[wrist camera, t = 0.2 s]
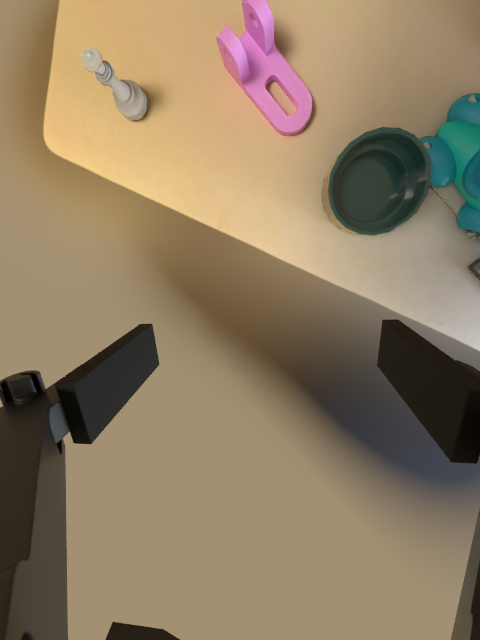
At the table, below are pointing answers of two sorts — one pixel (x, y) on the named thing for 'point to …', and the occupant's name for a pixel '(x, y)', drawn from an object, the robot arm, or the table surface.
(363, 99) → the table surface
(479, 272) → the smartphone
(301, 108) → the bracket
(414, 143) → the bowl
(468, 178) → the toy car
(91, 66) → the chess piece
